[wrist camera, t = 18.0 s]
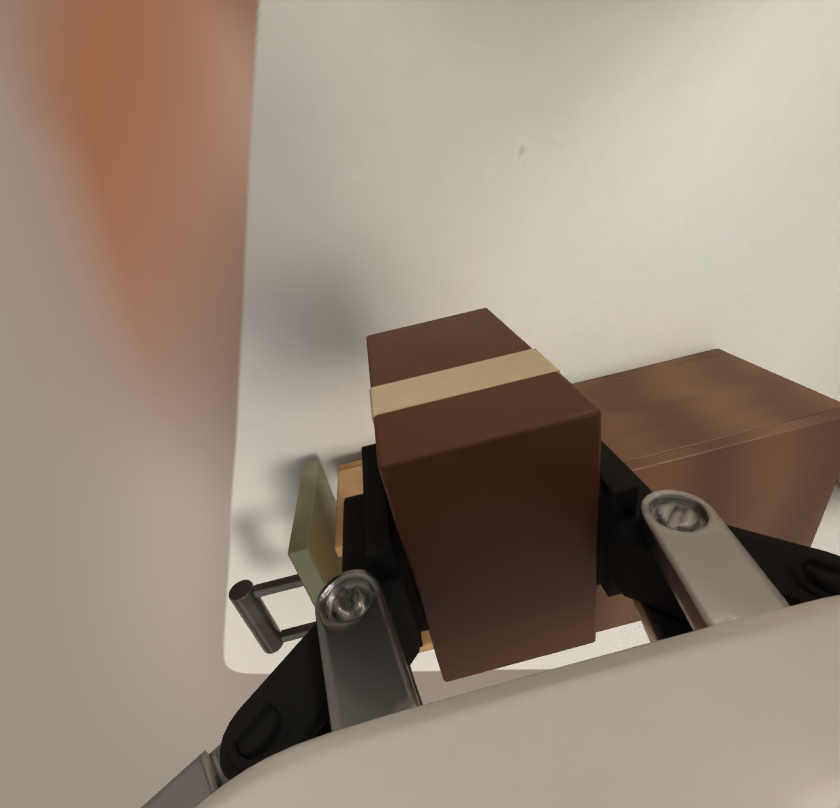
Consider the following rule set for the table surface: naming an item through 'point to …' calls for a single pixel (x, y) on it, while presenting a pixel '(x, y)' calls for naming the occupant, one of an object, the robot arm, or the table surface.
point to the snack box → (488, 489)
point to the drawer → (306, 554)
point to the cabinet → (722, 445)
